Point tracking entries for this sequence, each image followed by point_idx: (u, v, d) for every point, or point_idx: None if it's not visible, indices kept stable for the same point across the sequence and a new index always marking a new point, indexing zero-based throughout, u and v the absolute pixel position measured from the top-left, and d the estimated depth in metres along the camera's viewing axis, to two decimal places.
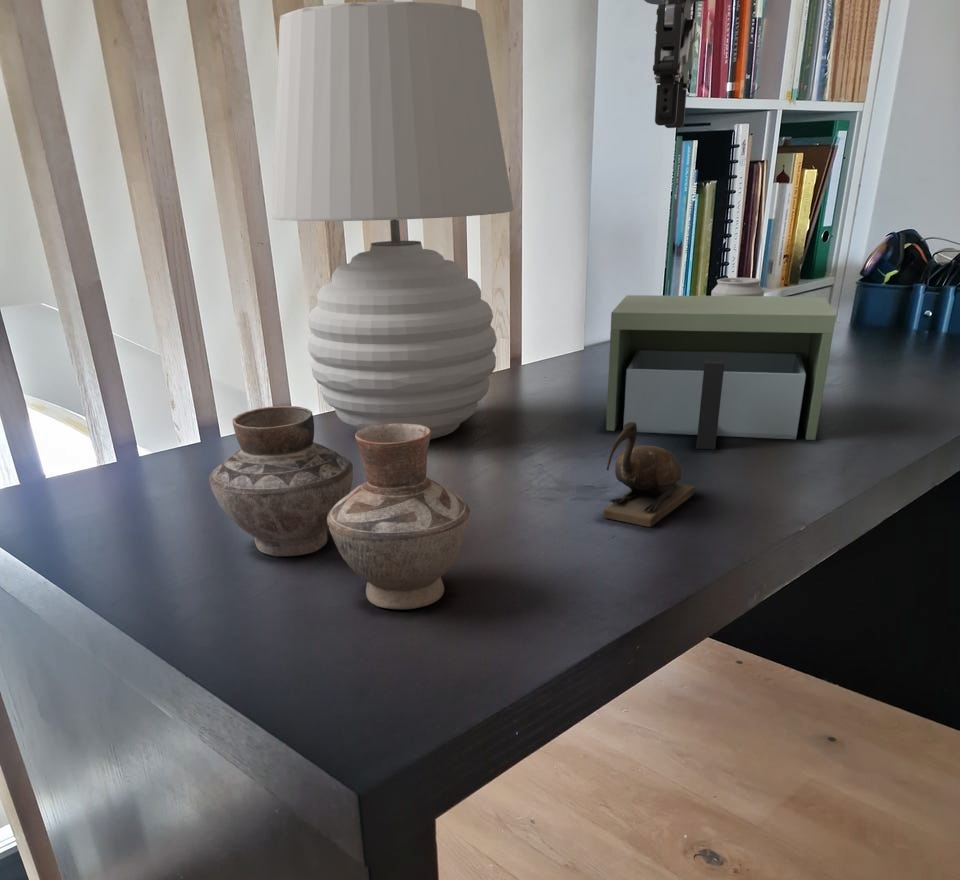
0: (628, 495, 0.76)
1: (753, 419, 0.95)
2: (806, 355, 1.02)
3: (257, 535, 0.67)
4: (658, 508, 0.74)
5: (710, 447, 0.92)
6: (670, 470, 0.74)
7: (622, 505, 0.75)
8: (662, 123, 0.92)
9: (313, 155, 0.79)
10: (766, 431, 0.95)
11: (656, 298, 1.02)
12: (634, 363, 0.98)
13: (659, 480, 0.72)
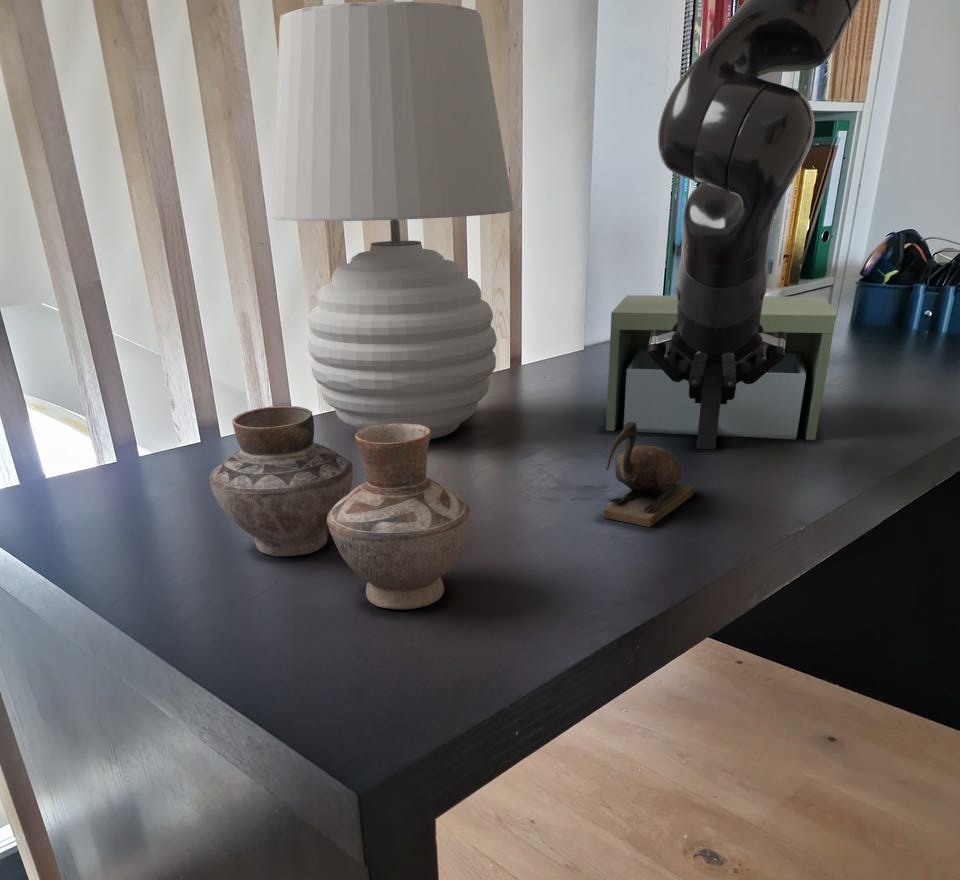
0: (628, 495, 0.76)
1: (753, 419, 0.95)
2: (806, 355, 1.02)
3: (257, 535, 0.67)
4: (658, 508, 0.74)
5: (710, 447, 0.92)
6: (670, 470, 0.74)
7: (622, 505, 0.75)
8: None
9: (313, 155, 0.79)
10: (766, 431, 0.95)
11: (656, 298, 1.02)
12: (634, 363, 0.98)
13: (659, 480, 0.72)
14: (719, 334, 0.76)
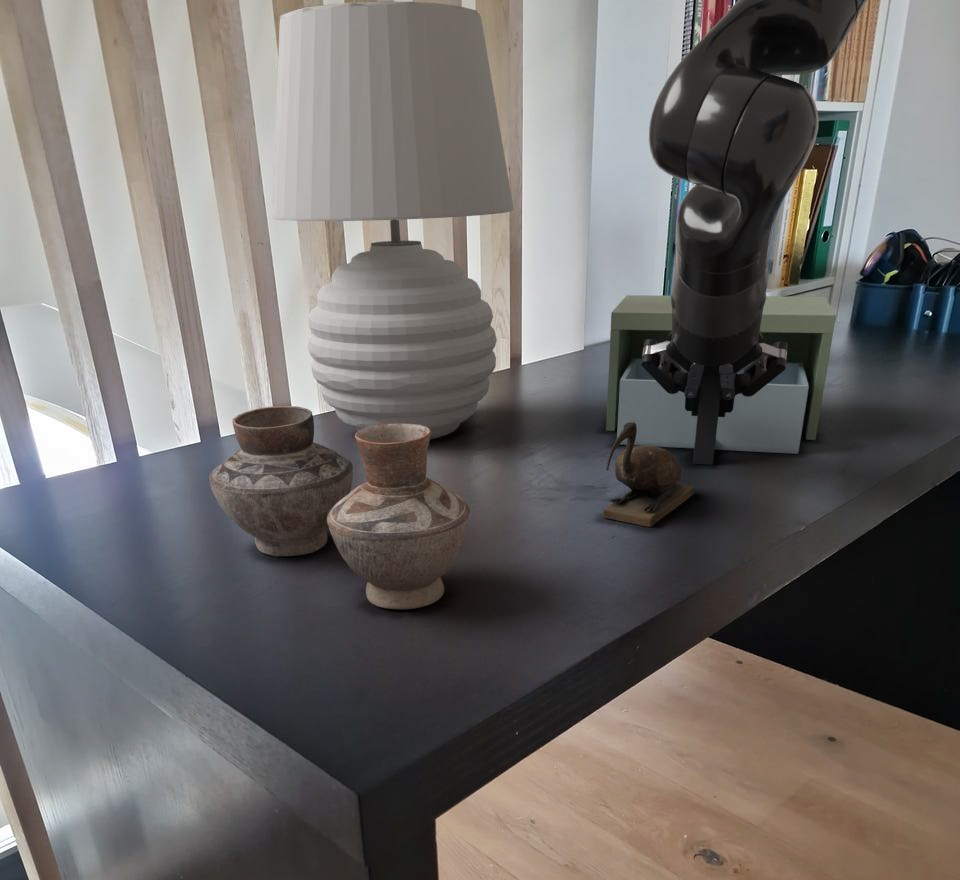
0: (628, 495, 0.76)
1: (753, 432, 0.90)
2: (806, 355, 1.02)
3: (257, 535, 0.67)
4: (658, 508, 0.74)
5: (707, 462, 0.87)
6: (670, 470, 0.74)
7: (622, 505, 0.75)
8: None
9: (313, 155, 0.79)
10: (767, 445, 0.90)
11: (656, 298, 1.02)
12: (628, 373, 0.94)
13: (659, 480, 0.72)
14: (716, 345, 0.72)
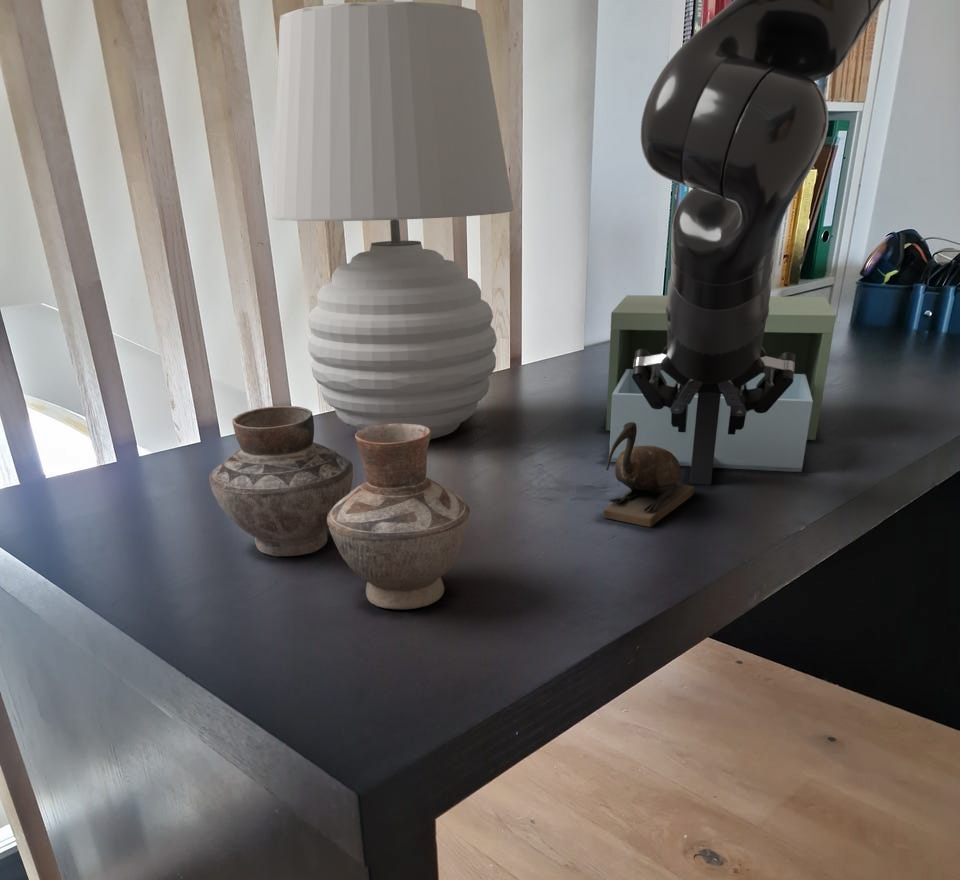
0: (628, 495, 0.76)
1: (754, 450, 0.85)
2: (806, 355, 1.02)
3: (257, 535, 0.67)
4: (658, 508, 0.74)
5: (705, 482, 0.82)
6: (670, 470, 0.74)
7: (622, 505, 0.75)
8: None
9: (313, 155, 0.79)
10: (768, 463, 0.85)
11: (656, 298, 1.02)
12: (621, 386, 0.89)
13: (659, 480, 0.72)
14: (715, 361, 0.66)
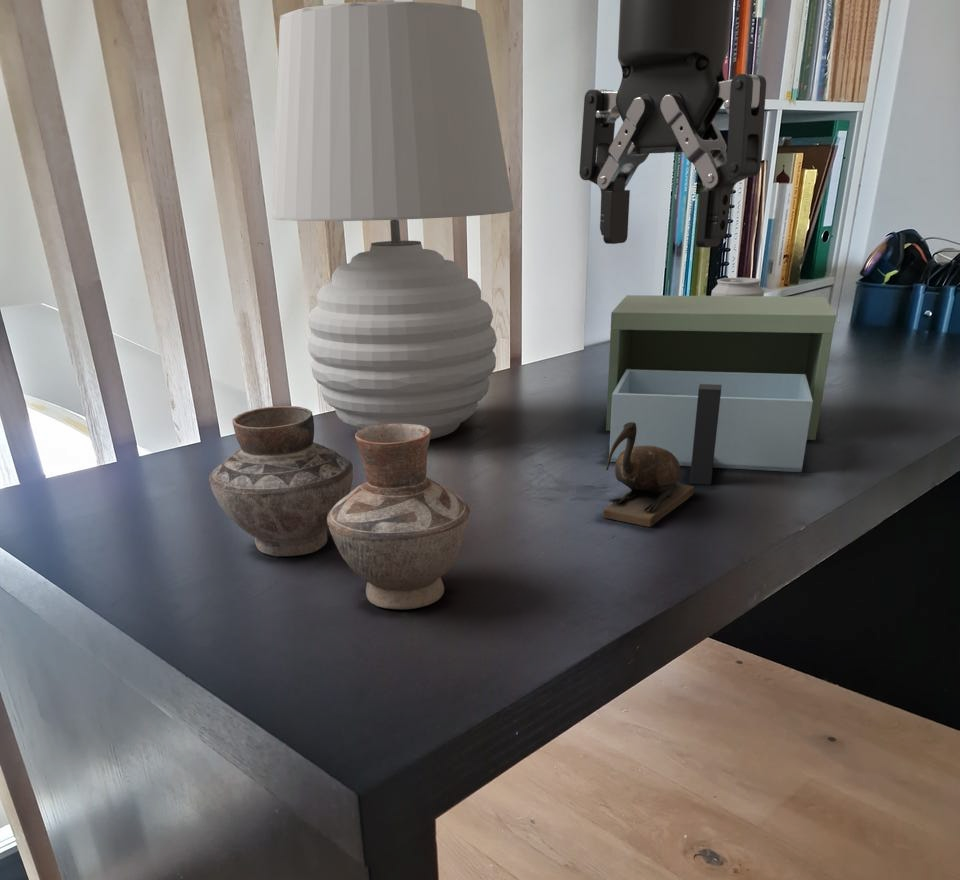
0: (628, 495, 0.76)
1: (754, 450, 0.85)
2: (806, 355, 1.02)
3: (257, 535, 0.67)
4: (658, 508, 0.74)
5: (705, 482, 0.82)
6: (670, 470, 0.74)
7: (622, 505, 0.75)
8: (710, 244, 0.62)
9: (313, 155, 0.79)
10: (768, 463, 0.85)
11: (656, 298, 1.02)
12: (621, 386, 0.89)
13: (659, 480, 0.72)
14: None
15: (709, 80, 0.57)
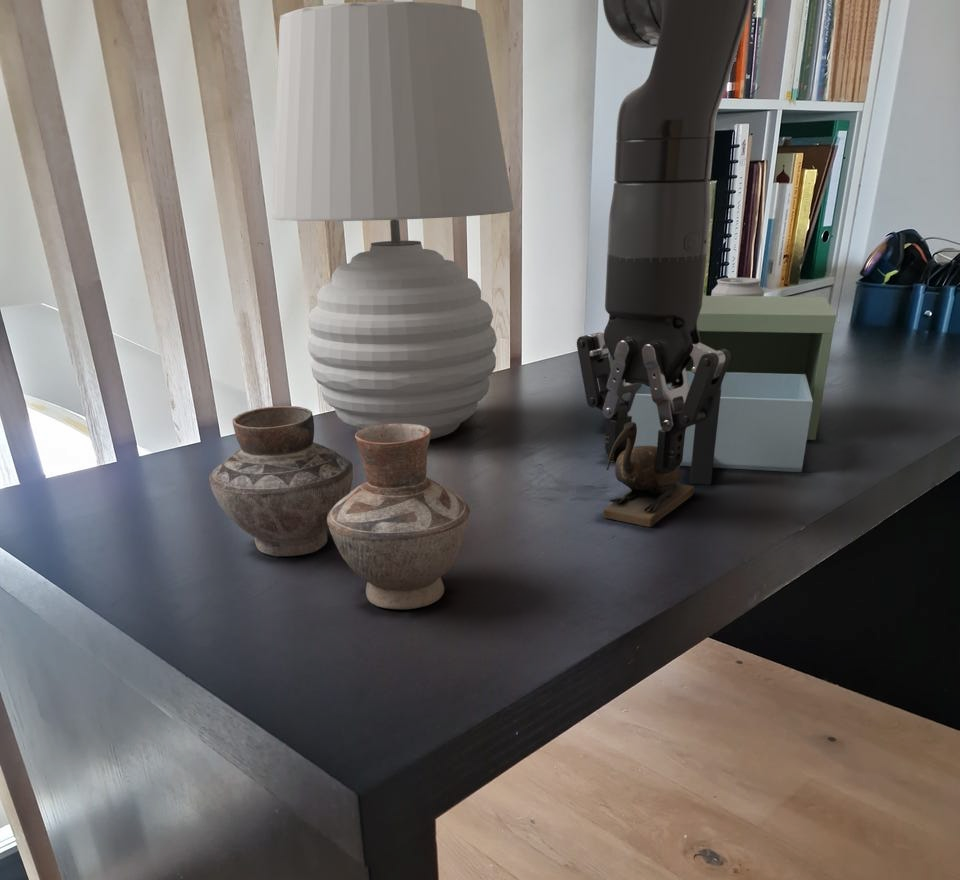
0: (628, 495, 0.76)
1: (754, 450, 0.85)
2: (806, 355, 1.02)
3: (257, 535, 0.67)
4: (658, 508, 0.74)
5: (705, 482, 0.82)
6: None
7: (622, 505, 0.75)
8: (667, 471, 0.72)
9: (313, 155, 0.79)
10: (768, 463, 0.85)
11: None
12: None
13: (659, 480, 0.72)
14: (629, 272, 0.64)
15: (686, 341, 0.65)
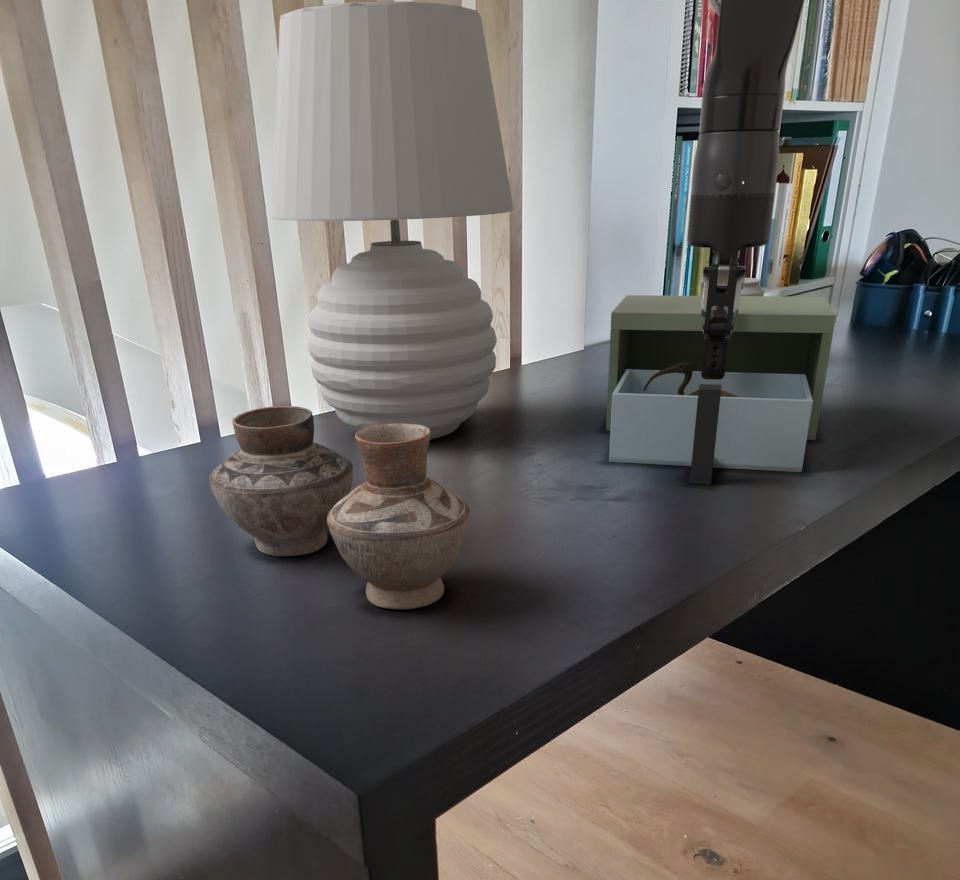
0: None
1: (754, 450, 0.85)
2: (806, 355, 1.02)
3: (257, 535, 0.67)
4: None
5: (705, 482, 0.82)
6: None
7: None
8: (709, 377, 0.83)
9: (313, 155, 0.79)
10: (768, 463, 0.85)
11: (656, 298, 1.02)
12: (621, 386, 0.89)
13: None
14: (690, 206, 0.80)
15: (714, 263, 0.79)
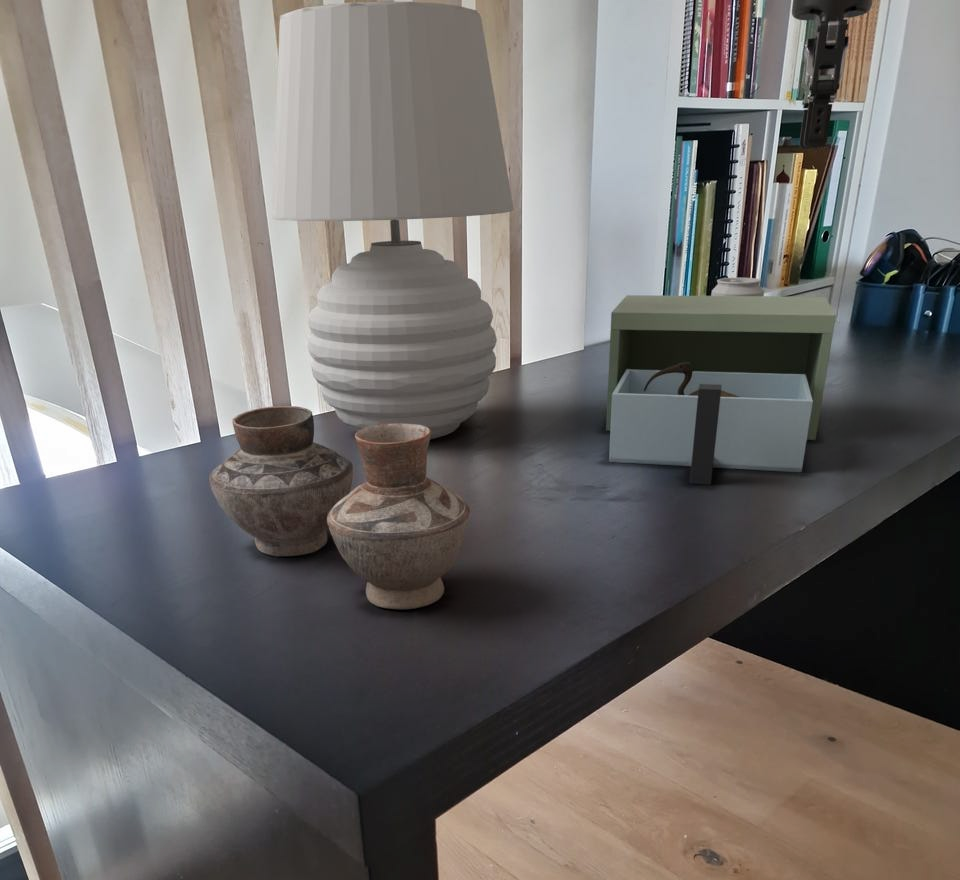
0: None
1: (754, 450, 0.85)
2: (806, 355, 1.02)
3: (257, 535, 0.67)
4: None
5: (705, 482, 0.82)
6: None
7: None
8: (812, 145, 0.87)
9: (313, 155, 0.79)
10: (768, 463, 0.85)
11: (656, 298, 1.02)
12: (621, 386, 0.89)
13: None
14: None
15: None
